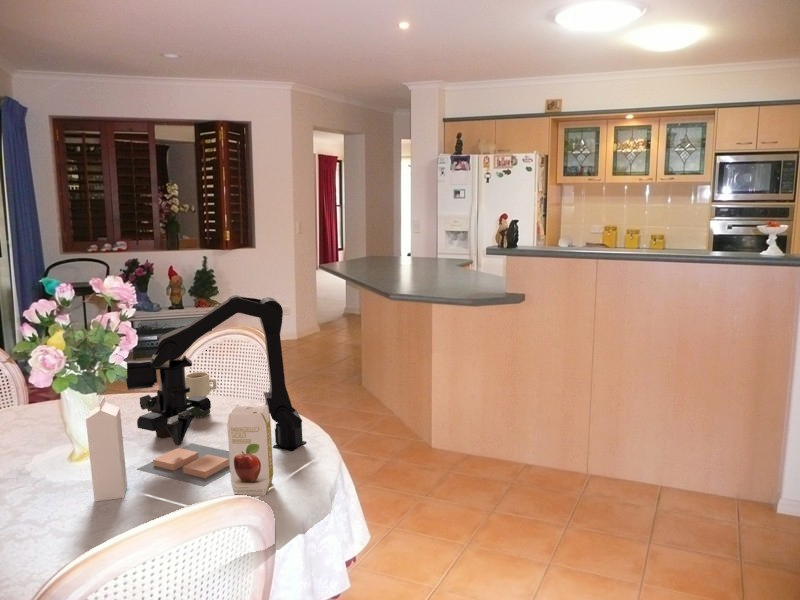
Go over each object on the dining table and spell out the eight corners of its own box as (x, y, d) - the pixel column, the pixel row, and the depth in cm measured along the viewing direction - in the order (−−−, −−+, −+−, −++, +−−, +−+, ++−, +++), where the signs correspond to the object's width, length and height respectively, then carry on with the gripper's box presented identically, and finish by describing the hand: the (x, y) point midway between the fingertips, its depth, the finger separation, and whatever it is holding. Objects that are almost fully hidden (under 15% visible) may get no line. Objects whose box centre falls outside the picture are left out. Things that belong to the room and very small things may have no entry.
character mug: (218, 410, 194) (215, 370, 192) (218, 417, 187) (215, 376, 185) (181, 414, 191) (178, 373, 189) (180, 421, 184) (176, 379, 182)
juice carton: (239, 482, 143) (234, 403, 140) (276, 482, 143) (271, 403, 140) (229, 498, 136) (223, 415, 133) (268, 497, 135) (263, 414, 132)
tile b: (198, 452, 156) (173, 464, 149) (198, 458, 156) (174, 471, 149) (178, 447, 159) (153, 459, 152) (178, 454, 159) (153, 466, 152)
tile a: (228, 459, 151) (204, 471, 144) (229, 465, 152) (205, 478, 145) (207, 454, 154) (182, 466, 147) (207, 460, 155) (183, 473, 148)
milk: (94, 502, 135) (83, 405, 132) (99, 490, 141) (88, 397, 137) (124, 498, 137) (114, 402, 133) (128, 486, 143) (118, 393, 139)
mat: (256, 458, 157) (256, 456, 157) (203, 487, 141) (203, 486, 141) (191, 444, 167) (191, 443, 166) (136, 470, 151) (136, 469, 151)
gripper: (178, 371, 164) (183, 428, 166) (118, 391, 147) (124, 453, 150) (210, 376, 159) (214, 434, 161) (151, 397, 142) (157, 461, 145)
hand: (178, 445), depth 154 cm, fingers closed
